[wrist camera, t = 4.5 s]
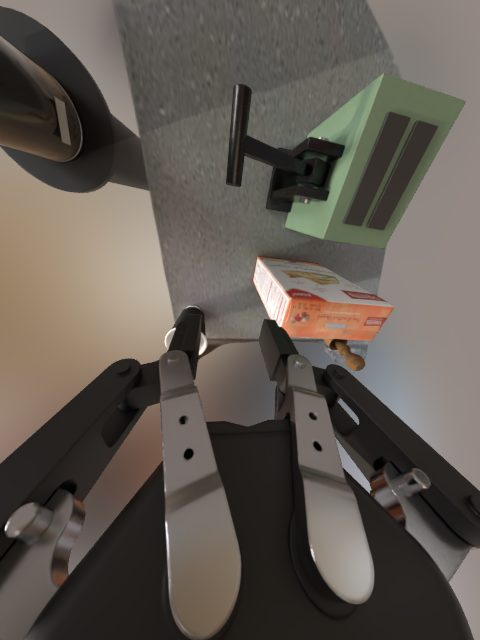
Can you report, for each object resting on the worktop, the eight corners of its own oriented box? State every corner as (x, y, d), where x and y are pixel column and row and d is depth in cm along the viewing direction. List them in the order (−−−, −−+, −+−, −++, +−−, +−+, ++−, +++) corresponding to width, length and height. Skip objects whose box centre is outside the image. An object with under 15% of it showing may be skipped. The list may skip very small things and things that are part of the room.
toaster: (284, 227, 34) (323, 239, 21) (307, 134, 27) (386, 69, 14) (326, 233, 35) (386, 249, 23) (358, 147, 28) (470, 99, 16)
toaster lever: (221, 183, 17) (233, 183, 16) (227, 90, 14) (244, 78, 12) (303, 204, 24) (318, 205, 23) (320, 145, 21) (338, 142, 19)
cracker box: (318, 261, 38) (400, 306, 21) (308, 286, 42) (373, 344, 24) (256, 253, 36) (291, 297, 19) (251, 281, 39) (278, 340, 22)
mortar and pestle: (298, 322, 47) (335, 376, 32) (312, 302, 44) (359, 351, 29) (317, 328, 49) (360, 381, 34) (332, 309, 46) (386, 359, 31)
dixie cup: (180, 328, 44) (170, 360, 35) (173, 300, 40) (159, 328, 31) (211, 326, 45) (209, 356, 36) (207, 298, 41) (204, 325, 31)
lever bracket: (265, 208, 32) (288, 209, 21) (276, 149, 28) (312, 113, 17) (290, 212, 33) (325, 216, 22) (305, 156, 28) (356, 126, 18)
